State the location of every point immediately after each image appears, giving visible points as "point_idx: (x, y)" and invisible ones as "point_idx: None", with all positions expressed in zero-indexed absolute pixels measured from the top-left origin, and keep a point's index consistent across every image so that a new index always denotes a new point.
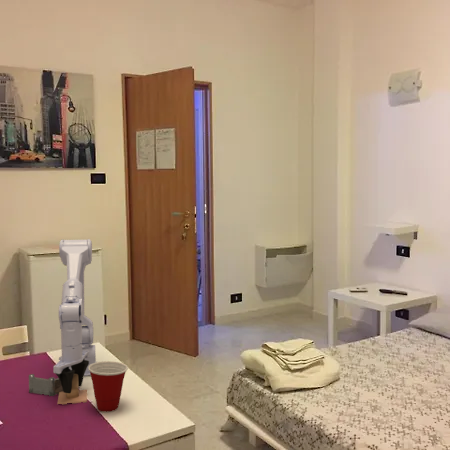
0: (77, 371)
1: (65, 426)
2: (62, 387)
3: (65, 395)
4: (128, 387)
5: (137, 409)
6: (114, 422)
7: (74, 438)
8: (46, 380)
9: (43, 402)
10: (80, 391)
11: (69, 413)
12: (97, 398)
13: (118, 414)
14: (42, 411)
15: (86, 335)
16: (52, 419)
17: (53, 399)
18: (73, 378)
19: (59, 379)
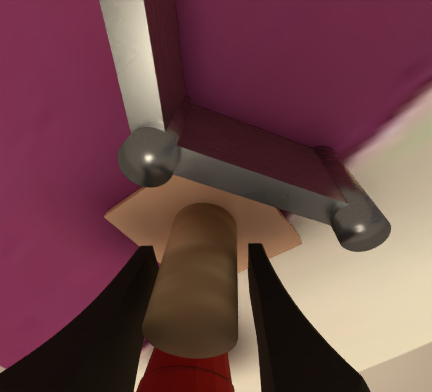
0: (262, 349)
1: (22, 312)
2: (124, 267)
3: (193, 197)
4: (370, 331)
5: None
6: None
7: (5, 349)
8: (125, 103)
9: (78, 129)
10: (267, 231)
11: (87, 283)
12: (137, 389)
13: None
14: (16, 194)
15: None
16: (13, 264)
17: None
18: (166, 350)
19: (77, 318)
